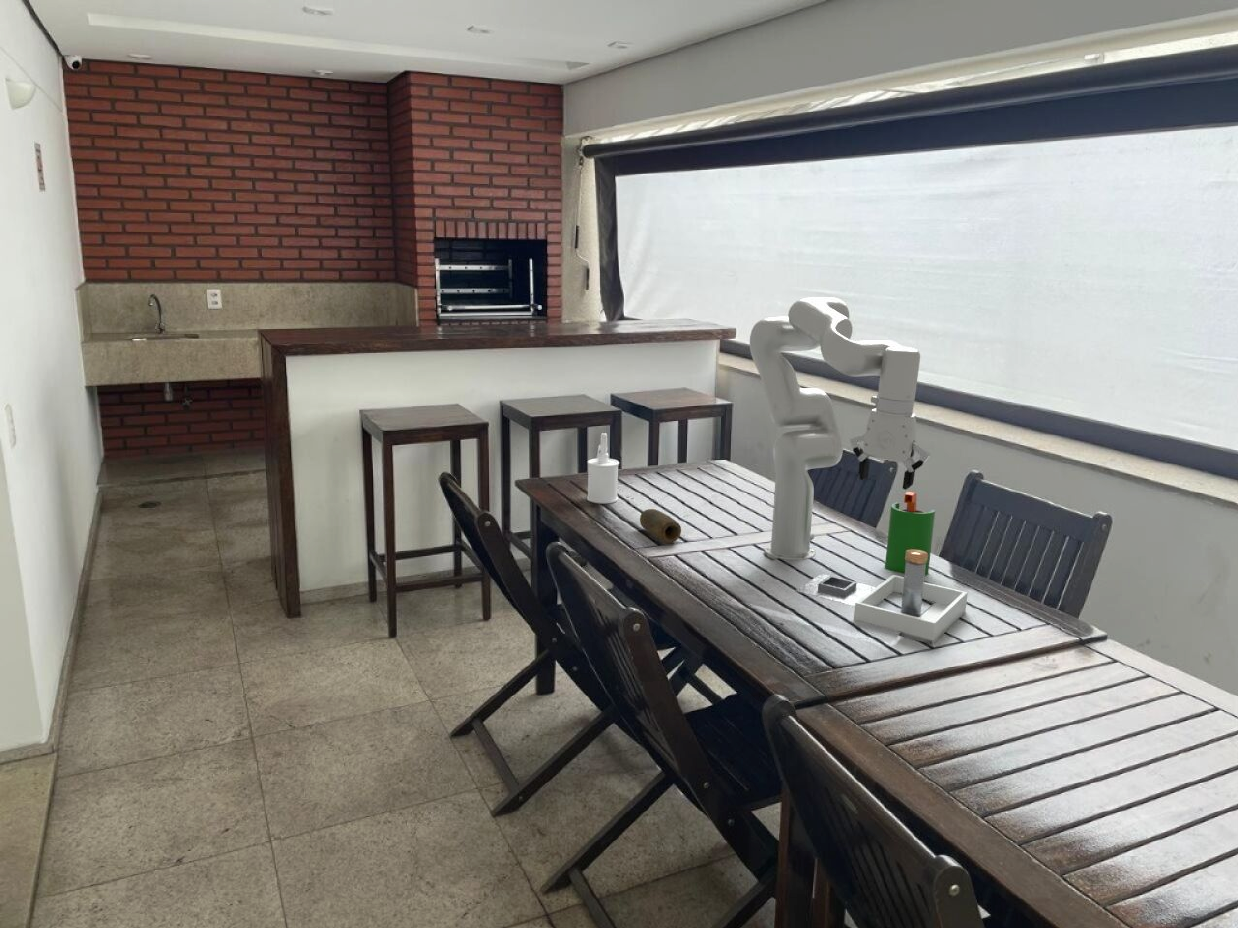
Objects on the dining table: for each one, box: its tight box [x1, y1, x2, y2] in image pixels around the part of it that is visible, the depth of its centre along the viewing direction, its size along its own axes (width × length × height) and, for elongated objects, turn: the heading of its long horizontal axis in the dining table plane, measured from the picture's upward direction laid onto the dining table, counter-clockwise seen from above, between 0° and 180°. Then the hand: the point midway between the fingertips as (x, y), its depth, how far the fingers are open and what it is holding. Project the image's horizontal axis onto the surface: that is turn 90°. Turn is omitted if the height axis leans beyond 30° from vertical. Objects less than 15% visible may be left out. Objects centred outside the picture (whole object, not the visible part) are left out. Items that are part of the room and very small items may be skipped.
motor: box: [884, 491, 936, 576], centre depth 231 cm, size 10×9×20 cm
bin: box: [853, 574, 969, 645], centre depth 205 cm, size 22×17×4 cm
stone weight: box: [639, 508, 682, 544], centre depth 254 cm, size 15×7×7 cm, turn 26°
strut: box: [900, 550, 928, 617], centre depth 203 cm, size 4×4×14 cm
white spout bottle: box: [586, 432, 620, 504], centre depth 285 cm, size 10×9×20 cm
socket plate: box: [794, 573, 877, 607], centre depth 217 cm, size 14×14×2 cm
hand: (884, 483), depth 209 cm, fingers open, 9 cm apart
